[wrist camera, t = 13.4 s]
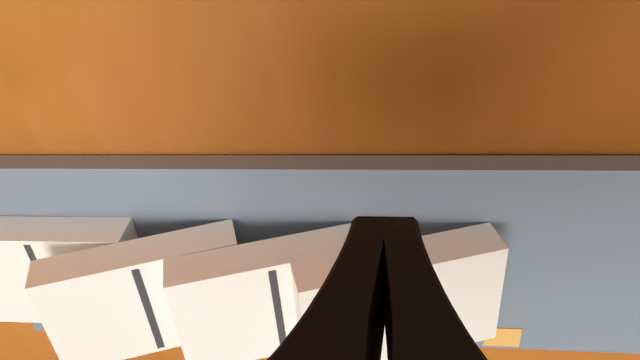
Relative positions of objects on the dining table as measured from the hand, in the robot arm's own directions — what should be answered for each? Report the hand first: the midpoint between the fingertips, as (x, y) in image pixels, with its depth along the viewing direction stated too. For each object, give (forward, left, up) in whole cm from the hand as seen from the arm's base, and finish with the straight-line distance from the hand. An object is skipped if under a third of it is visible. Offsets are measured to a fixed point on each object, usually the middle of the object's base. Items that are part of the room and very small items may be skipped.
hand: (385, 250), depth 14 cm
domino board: (+3, +9, -10) cm, 14 cm away
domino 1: (+6, +9, -8) cm, 14 cm away
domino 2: (+1, +9, -8) cm, 12 cm away
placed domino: (-4, +9, -8) cm, 13 cm away
